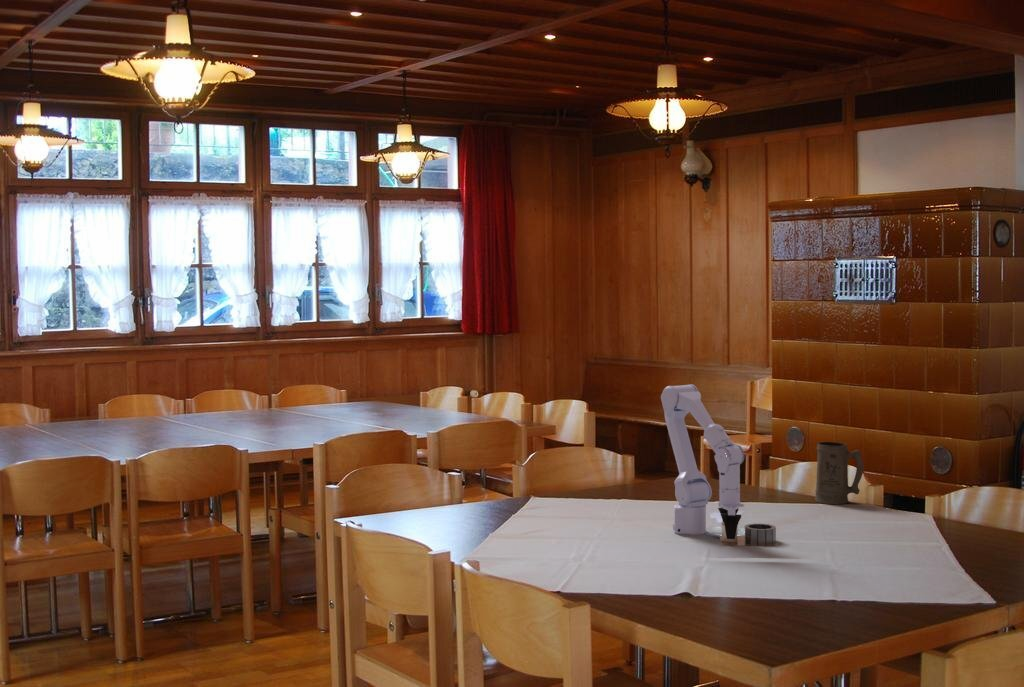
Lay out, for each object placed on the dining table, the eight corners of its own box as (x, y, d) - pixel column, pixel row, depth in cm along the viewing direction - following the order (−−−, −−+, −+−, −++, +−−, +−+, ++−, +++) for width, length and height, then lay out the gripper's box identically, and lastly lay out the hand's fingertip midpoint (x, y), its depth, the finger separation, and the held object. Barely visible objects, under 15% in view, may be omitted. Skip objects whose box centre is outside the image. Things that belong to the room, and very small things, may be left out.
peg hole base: (722, 549, 322) (722, 531, 321) (718, 538, 335) (718, 521, 334) (778, 549, 320) (778, 531, 320) (772, 539, 333) (772, 522, 333)
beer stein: (811, 503, 386) (816, 443, 384) (813, 497, 396) (817, 439, 394) (860, 508, 381) (864, 448, 380) (860, 502, 391) (864, 444, 390)
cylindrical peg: (722, 541, 326) (722, 524, 326) (721, 538, 330) (721, 521, 330) (738, 542, 325) (738, 524, 325) (736, 538, 330) (736, 521, 329)
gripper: (746, 492, 319) (746, 541, 320) (741, 483, 334) (741, 530, 334) (720, 492, 320) (720, 541, 321) (716, 483, 335) (716, 530, 335)
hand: (729, 535), depth 328 cm, fingers open, 7 cm apart
